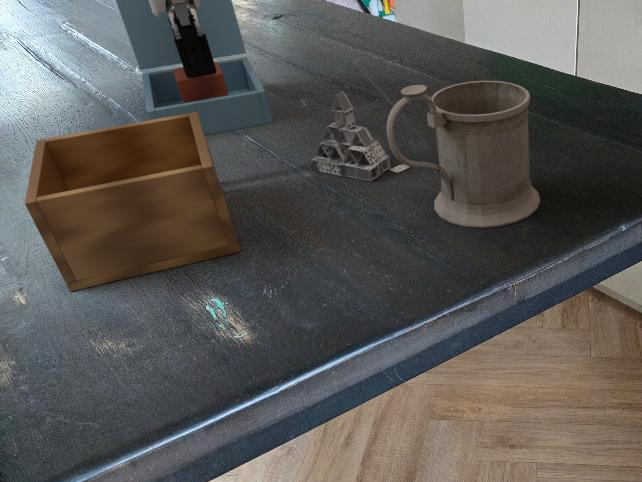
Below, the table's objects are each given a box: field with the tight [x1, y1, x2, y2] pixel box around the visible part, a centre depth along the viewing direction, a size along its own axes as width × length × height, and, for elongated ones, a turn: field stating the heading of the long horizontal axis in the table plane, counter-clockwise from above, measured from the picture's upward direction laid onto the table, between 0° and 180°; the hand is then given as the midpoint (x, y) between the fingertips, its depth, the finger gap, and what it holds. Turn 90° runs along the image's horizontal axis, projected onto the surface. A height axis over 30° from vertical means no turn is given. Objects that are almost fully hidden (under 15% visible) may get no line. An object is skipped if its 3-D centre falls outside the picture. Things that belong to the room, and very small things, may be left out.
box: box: [141, 56, 274, 136], centre depth 86 cm, size 15×13×4 cm
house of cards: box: [311, 90, 410, 183], centre depth 73 cm, size 9×9×8 cm
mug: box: [386, 80, 541, 229], centre depth 63 cm, size 14×10×12 cm
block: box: [172, 61, 229, 103], centre depth 85 cm, size 5×5×5 cm
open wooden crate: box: [24, 112, 241, 292], centre depth 63 cm, size 14×14×8 cm
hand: (198, 63), depth 83 cm, fingers open, 9 cm apart
